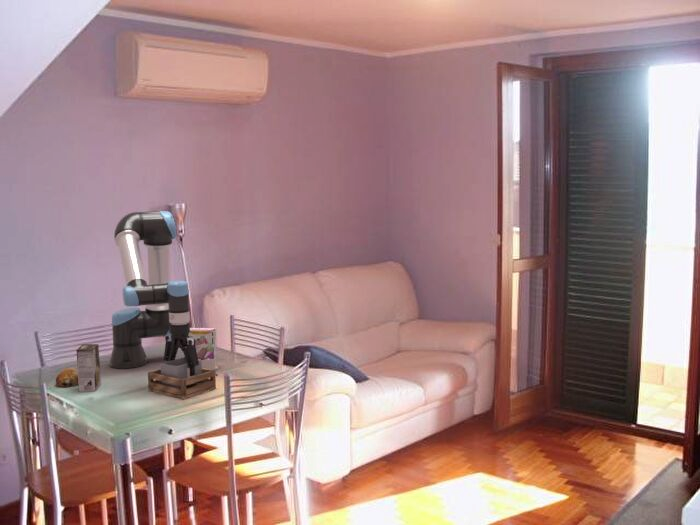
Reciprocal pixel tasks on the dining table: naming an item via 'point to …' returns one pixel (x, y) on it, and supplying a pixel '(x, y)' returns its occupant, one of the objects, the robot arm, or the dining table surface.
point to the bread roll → (67, 378)
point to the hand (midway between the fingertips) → (181, 381)
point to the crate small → (178, 370)
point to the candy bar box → (205, 342)
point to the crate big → (182, 384)
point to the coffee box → (88, 367)
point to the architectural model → (209, 364)
